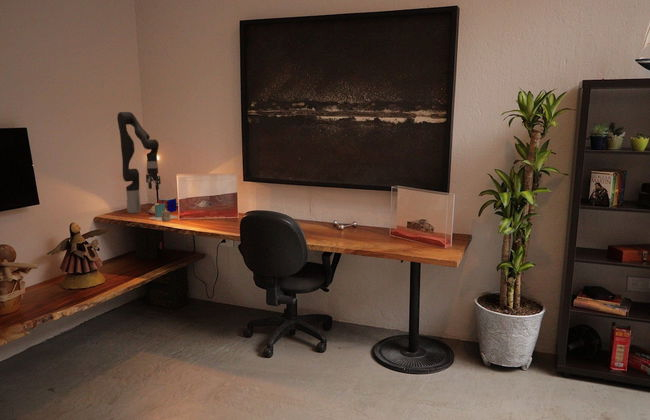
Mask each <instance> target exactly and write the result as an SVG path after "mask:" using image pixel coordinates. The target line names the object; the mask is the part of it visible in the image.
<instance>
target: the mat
mask: <svg viewBox="0 0 650 420" xmlns="http://www.w3.org/2000/svg"><path fill="white" fill-rule="evenodd" d="M176 218H178V216H177V215H172V214H170V220H172V219H176ZM148 219H152V220H156V221H159V222H160V221H161V222H163V221H162V216H161V217H155V216H150V217H148Z"/></svg>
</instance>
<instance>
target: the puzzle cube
mask: <svg viewBox="0 0 650 420" xmlns="http://www.w3.org/2000/svg"><path fill="white" fill-rule="evenodd" d="M158 203H159V204H162V203H165V208H166V210H167V211H170V213H172V212H176V210H177V211H178V206H177V198H175V197H163V198H158V199H157V204H158Z"/></svg>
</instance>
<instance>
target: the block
mask: <svg viewBox="0 0 650 420" xmlns="http://www.w3.org/2000/svg"><path fill="white" fill-rule="evenodd" d="M161 214H162V221H161V222H170V221H171V219H170V215H171V212H170V211H162V212H161Z"/></svg>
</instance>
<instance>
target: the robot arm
mask: <svg viewBox="0 0 650 420" xmlns="http://www.w3.org/2000/svg"><path fill="white" fill-rule="evenodd" d="M116 119H117V125H118V130H119V137H120V151H121V159H122V178H123V181H124V182H128V183H129V182H131V183H130V184H129V185H127V186H125V187H126V188H125V190H126V191H125V192H126V208H127V213H128V214H138V213H141V212H142V210H141V209H142V208H141V197H140V196H141V195H140V173H139V170H138V169H137V168H130V162H131V160H132V158H133V157H134V154H135V142H134V140H133V138H132V136H131V135H130V134H129V133H128V132H129V131H128V129H127V125H131V126H132V127H133V129H134V134H135V136H136V138H137V139H139V141H140V142H141V145H142V146H143V148H144V149H145V150H150V152H148V153H146V171H147V174H145V180H146V182H145V183H147V185H148V189H149V190H150V189H153V185H152V184H153V183H154V187H155V190H156V191H158V190H159V189H160V187H159V186H160V185H161V176H160V175H158V174H159V165H158V153H159V141H158V140H157V139H156V138H155V139H153V138H152V139H150V138H151V136H150V135H149V133H148V132H147V131H146V130H145V129H144V128H143V127H142V126H141V123H140V122H139V121H138V119H137V117H136V116H135V114H134V113H132V112H131V111H121V112H118V114H117V117H116Z"/></svg>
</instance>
